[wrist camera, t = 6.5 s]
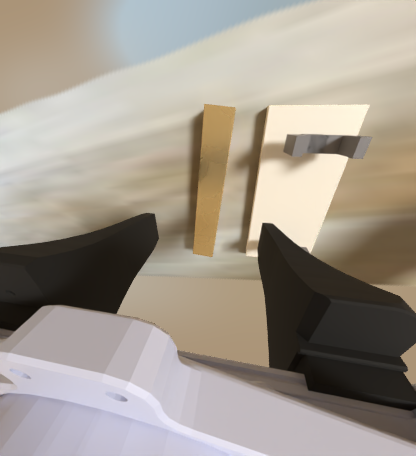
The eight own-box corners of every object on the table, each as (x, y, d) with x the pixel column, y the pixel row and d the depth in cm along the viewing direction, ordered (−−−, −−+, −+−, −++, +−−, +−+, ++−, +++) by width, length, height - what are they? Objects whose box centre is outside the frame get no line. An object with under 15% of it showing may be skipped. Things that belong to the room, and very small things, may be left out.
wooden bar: (235, 110, 15) (235, 107, 13) (214, 245, 23) (212, 257, 21) (209, 106, 15) (204, 103, 13) (196, 242, 23) (192, 253, 21)
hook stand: (359, 106, 13) (420, 96, 9) (303, 255, 21) (321, 290, 17) (267, 106, 14) (280, 97, 10) (245, 249, 22) (247, 281, 17)
